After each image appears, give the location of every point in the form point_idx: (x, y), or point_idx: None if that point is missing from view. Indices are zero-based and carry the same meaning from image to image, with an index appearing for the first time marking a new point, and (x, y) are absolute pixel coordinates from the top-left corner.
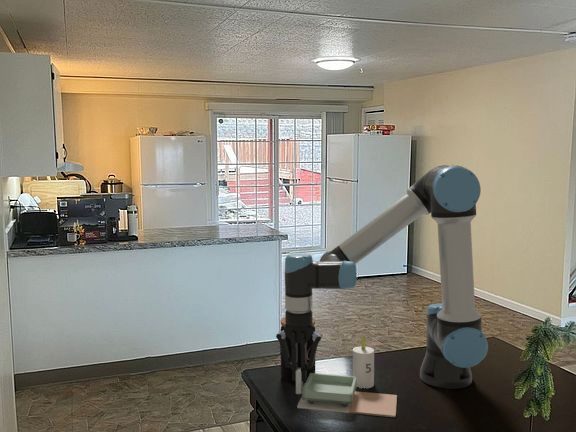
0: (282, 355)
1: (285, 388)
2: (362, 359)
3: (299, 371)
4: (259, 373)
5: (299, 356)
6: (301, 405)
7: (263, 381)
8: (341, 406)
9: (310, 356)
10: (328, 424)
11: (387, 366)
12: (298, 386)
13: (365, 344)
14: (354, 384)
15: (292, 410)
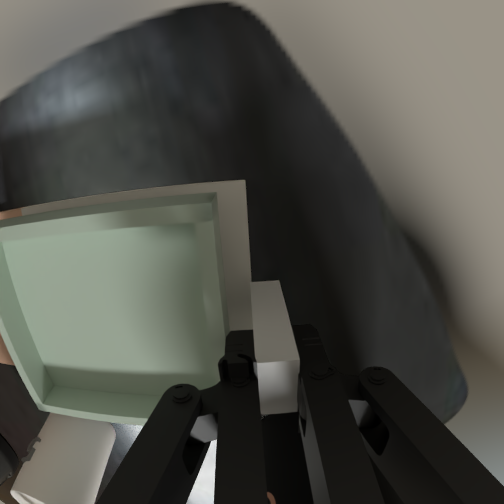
0: None
1: (344, 353)
2: (32, 476)
3: (268, 361)
4: (435, 409)
5: (311, 495)
6: (225, 194)
7: (426, 372)
8: None
9: (153, 476)
10: (70, 77)
11: None
12: (267, 300)
13: None
14: (4, 342)
15: (261, 147)
